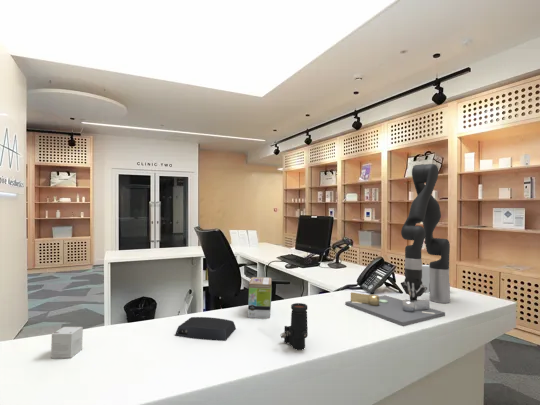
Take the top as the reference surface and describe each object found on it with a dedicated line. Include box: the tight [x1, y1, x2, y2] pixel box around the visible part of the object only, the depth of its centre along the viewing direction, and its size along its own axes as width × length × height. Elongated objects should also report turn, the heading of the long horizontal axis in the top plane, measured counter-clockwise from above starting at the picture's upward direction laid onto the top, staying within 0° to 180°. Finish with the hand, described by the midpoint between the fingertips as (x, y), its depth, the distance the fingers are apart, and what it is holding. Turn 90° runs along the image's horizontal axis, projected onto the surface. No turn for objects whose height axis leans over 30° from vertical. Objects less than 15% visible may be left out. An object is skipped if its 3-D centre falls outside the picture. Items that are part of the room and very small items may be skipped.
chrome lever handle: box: [402, 298, 430, 312], centre depth 139 cm, size 14×5×4 cm, turn 107°
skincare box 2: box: [419, 264, 430, 293], centre depth 181 cm, size 21×6×16 cm, turn 81°
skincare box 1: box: [50, 326, 84, 359], centre depth 94 cm, size 6×6×7 cm
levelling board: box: [344, 294, 446, 327], centre depth 144 cm, size 29×33×2 cm
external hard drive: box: [174, 316, 237, 342], centre depth 113 cm, size 13×19×4 cm
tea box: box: [247, 276, 273, 319], centre depth 137 cm, size 15×10×15 cm
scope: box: [280, 302, 309, 351], centre depth 102 cm, size 8×14×10 cm
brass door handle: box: [350, 292, 380, 306], centre depth 149 cm, size 14×5×4 cm, turn 61°
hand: (413, 304), depth 143 cm, fingers closed
